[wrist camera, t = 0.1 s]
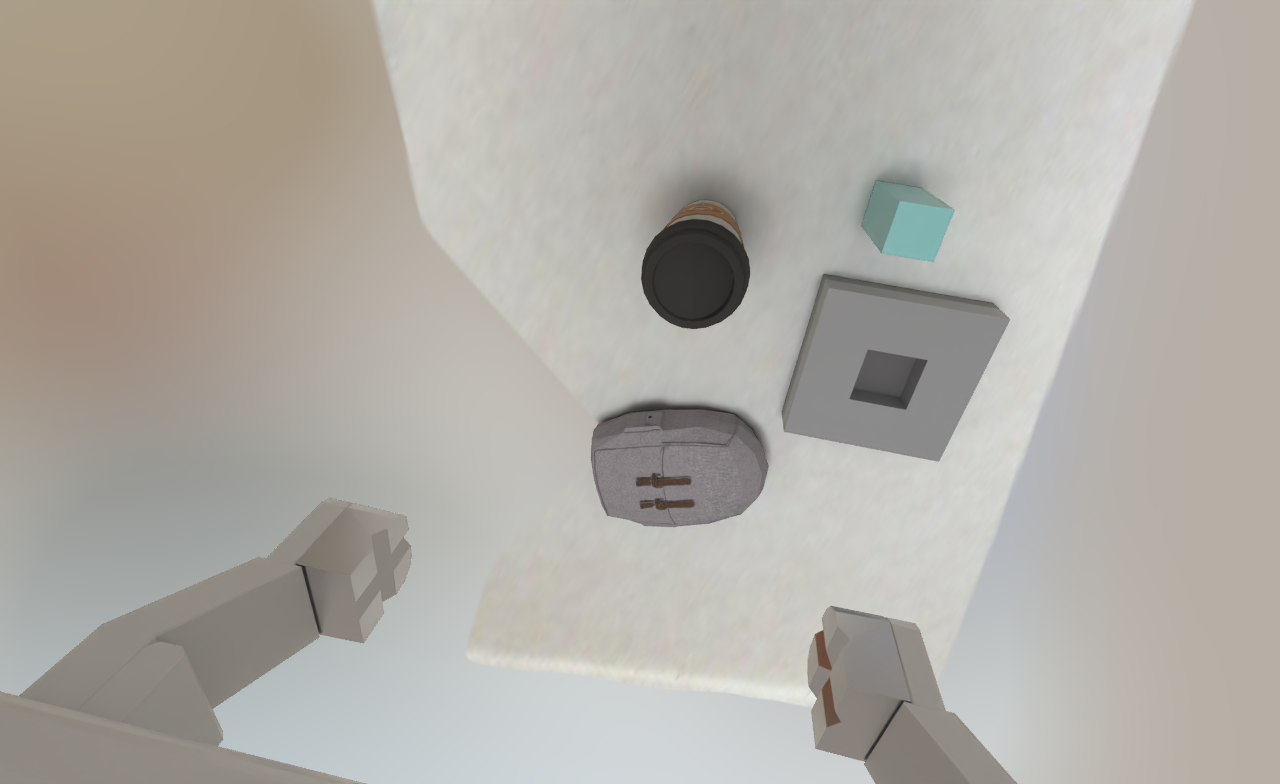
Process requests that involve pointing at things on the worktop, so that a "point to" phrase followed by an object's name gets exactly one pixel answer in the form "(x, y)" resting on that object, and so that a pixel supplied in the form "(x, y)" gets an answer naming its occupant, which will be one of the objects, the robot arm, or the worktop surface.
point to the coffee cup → (697, 267)
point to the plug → (906, 221)
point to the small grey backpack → (677, 467)
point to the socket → (889, 366)
